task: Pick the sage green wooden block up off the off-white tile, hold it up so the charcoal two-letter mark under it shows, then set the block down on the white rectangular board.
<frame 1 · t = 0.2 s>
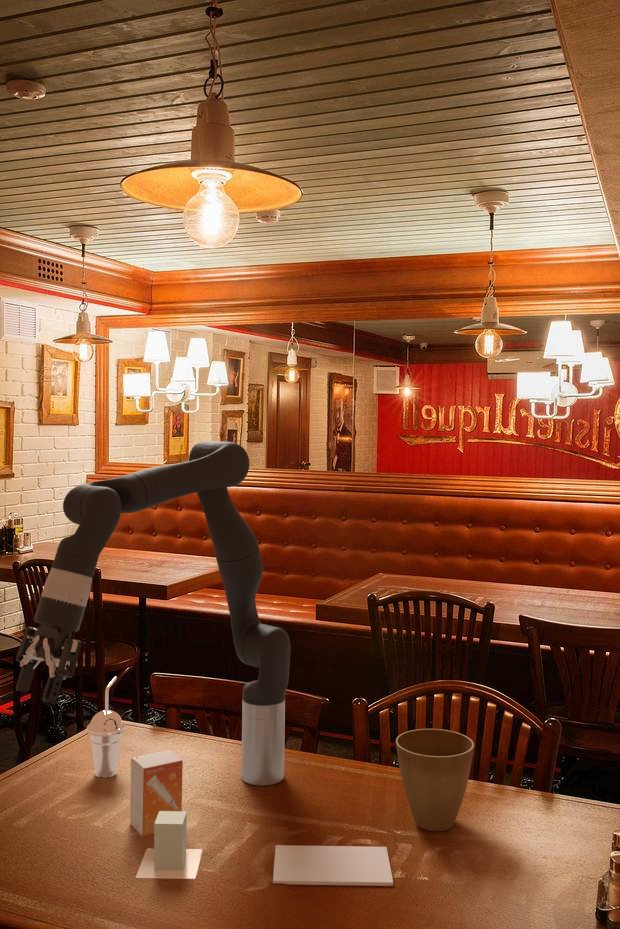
hand: (34, 696, 139), 31 cm above the table, tool tilted 20°, fingers open, 8 cm apart
code tile: (170, 864, 146), on the table
white rectangular board: (332, 866, 146), on the table
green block: (170, 862, 146), on the table, touching code tile
small box: (155, 827, 160), on the table
cup with straw: (106, 774, 184), on the table
plant pot: (432, 823, 163), on the table
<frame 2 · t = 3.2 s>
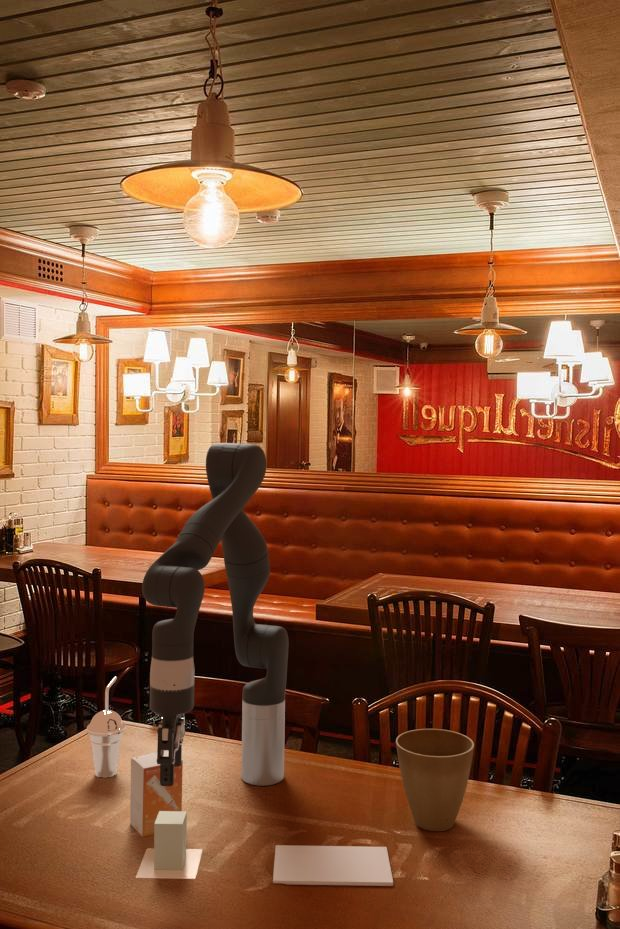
hand: (171, 775, 146), 16 cm above the table, tool pointing down, fingers open, 8 cm apart
nothing on the table moved.
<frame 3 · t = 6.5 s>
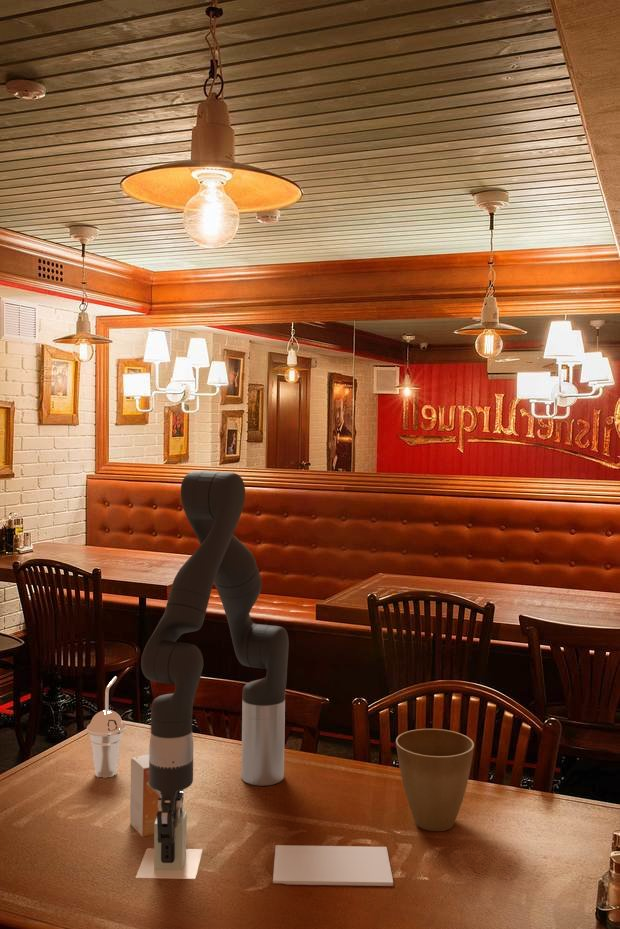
hand: (170, 853, 146), 2 cm above the table, tool pointing down, fingers closed on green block, 4 cm apart
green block: (170, 862, 146), on the table, touching gripper
everything else where it was.
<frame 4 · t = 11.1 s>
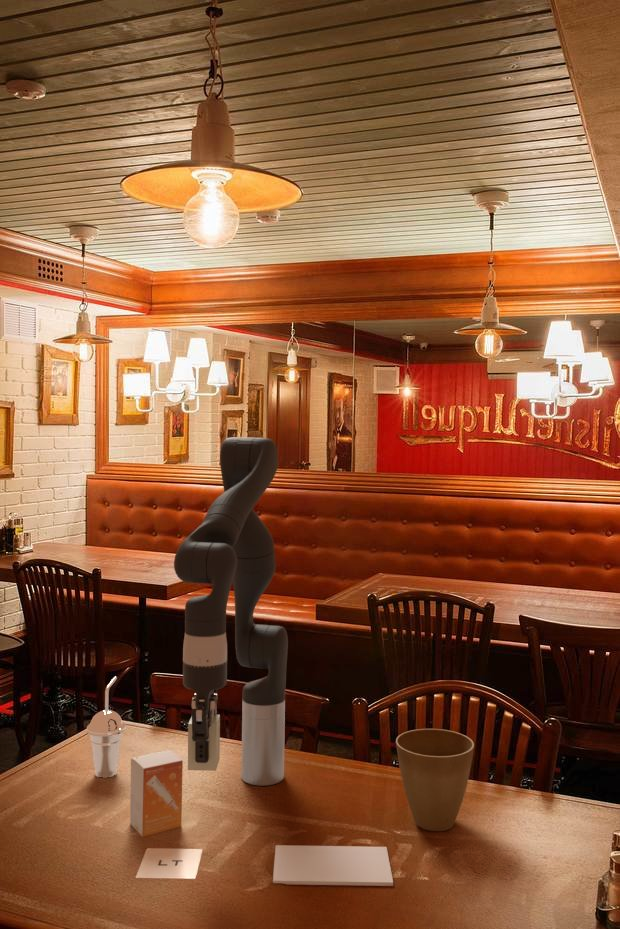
hand: (204, 755, 146), 19 cm above the table, tool pointing down, fingers closed on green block, 4 cm apart
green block: (203, 764, 146), point 17 cm above the table, touching gripper
everything else where it was.
when the fingers open (4 cm above the table, at t = 16.2 s): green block drops 2 cm, resting on white rectangular board.
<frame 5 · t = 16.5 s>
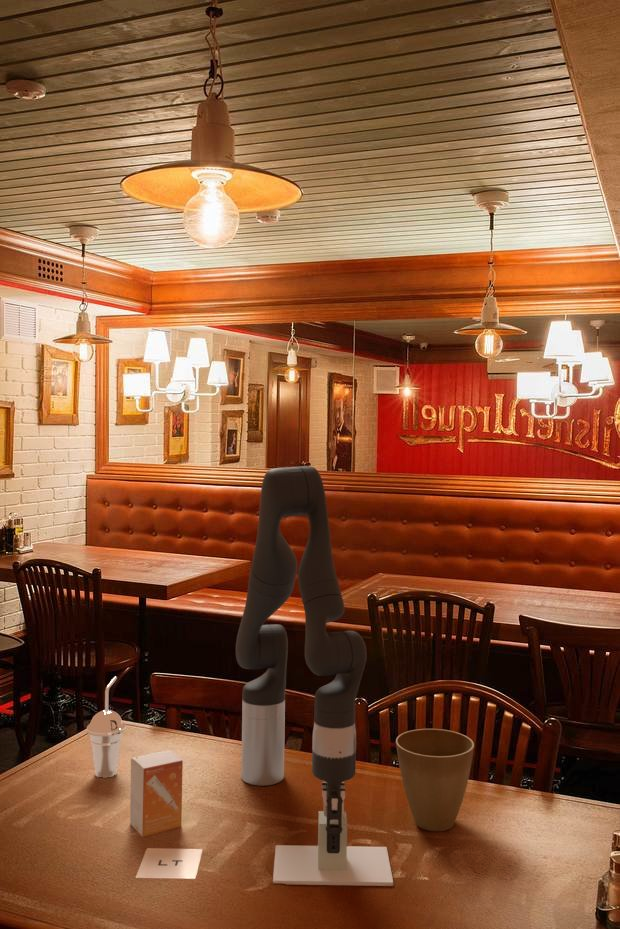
hand: (332, 840, 146), 4 cm above the table, tool pointing down, fingers open, 7 cm apart
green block: (331, 862, 146), point 1 cm above the table, touching white rectangular board
everything else where it was.
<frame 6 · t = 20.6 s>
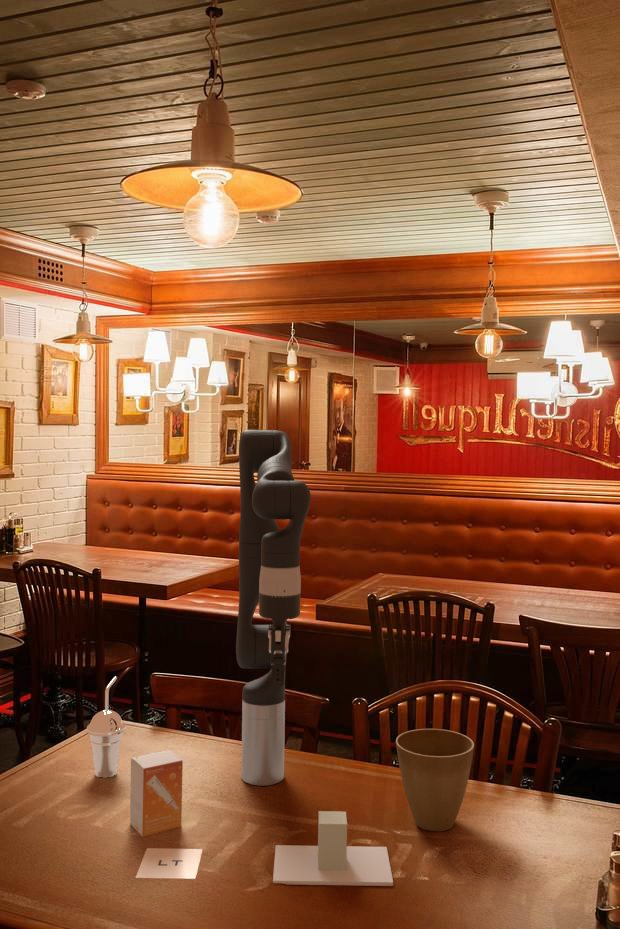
hand: (278, 678, 154), 30 cm above the table, tool pointing down, fingers open, 8 cm apart
nothing on the table moved.
at the end: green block inside the target area on the white rectangular board (0.0 cm from its centre), point 0.6 cm above the white rectangular board's base; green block tilted 0°; the gripper is holding nothing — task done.
